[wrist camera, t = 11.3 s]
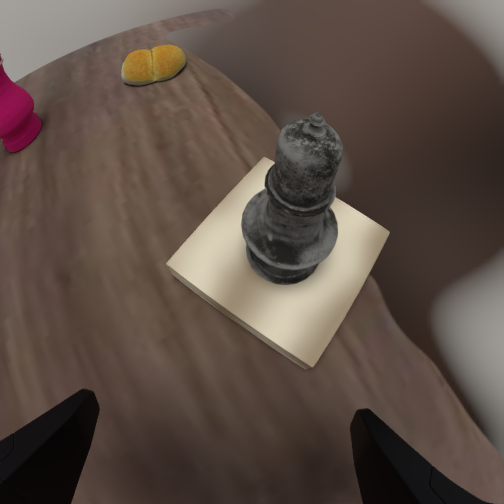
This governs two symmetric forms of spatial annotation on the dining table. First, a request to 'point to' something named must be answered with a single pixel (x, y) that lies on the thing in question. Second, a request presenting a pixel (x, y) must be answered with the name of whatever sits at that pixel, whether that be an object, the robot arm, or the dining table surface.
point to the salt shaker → (295, 204)
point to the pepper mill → (16, 115)
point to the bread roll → (152, 65)
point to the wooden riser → (270, 294)
